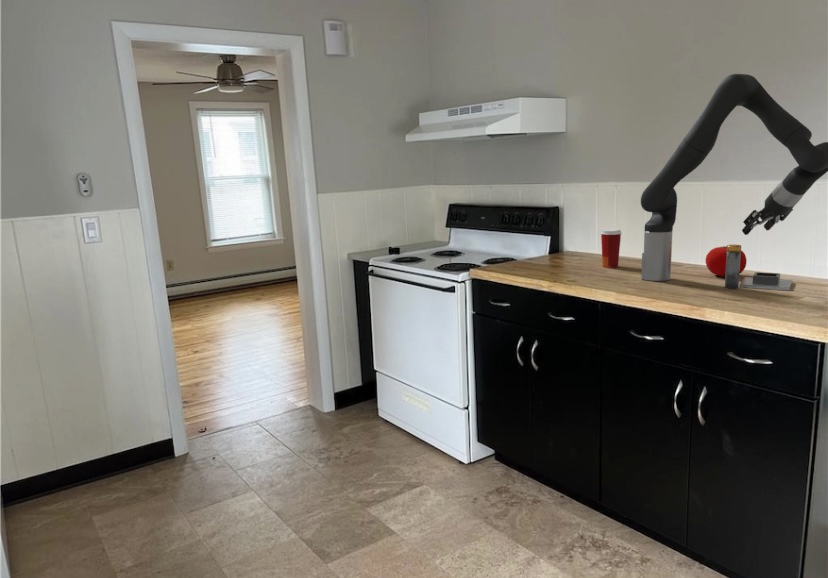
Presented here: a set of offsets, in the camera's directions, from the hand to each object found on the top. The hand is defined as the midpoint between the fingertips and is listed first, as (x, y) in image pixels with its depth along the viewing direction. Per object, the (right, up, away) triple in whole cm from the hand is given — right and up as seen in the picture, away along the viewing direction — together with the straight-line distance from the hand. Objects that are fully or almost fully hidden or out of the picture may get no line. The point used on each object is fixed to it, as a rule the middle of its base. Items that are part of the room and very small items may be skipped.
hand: (755, 230), depth 197 cm
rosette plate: (+5, -18, +3) cm, 19 cm away
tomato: (+1, -15, +21) cm, 26 cm away
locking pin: (-7, -19, +1) cm, 20 cm away
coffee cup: (-31, -10, +50) cm, 60 cm away
